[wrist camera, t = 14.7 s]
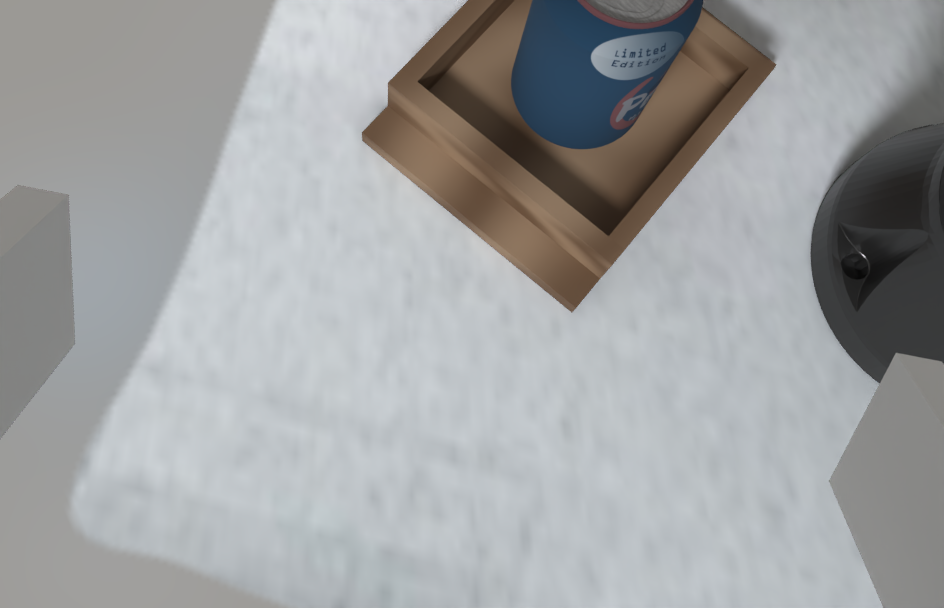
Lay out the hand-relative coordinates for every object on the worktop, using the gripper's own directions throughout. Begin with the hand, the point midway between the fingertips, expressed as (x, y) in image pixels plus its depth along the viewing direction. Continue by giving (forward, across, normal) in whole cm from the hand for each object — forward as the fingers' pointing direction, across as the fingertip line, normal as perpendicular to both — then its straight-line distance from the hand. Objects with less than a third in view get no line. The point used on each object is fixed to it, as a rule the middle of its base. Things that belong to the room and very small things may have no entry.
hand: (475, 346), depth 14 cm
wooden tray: (+35, +5, -7) cm, 36 cm away
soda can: (+35, +5, -6) cm, 35 cm away
